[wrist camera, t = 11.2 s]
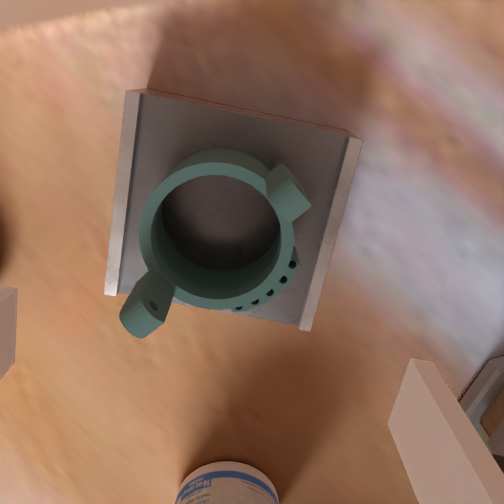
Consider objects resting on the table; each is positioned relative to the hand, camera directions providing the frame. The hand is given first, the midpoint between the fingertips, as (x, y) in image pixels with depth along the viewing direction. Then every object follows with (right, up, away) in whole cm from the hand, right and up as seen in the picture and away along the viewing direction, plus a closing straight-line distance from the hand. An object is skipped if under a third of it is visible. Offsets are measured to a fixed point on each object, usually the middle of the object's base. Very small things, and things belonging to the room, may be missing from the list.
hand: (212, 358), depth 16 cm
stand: (0, +7, +19) cm, 21 cm away
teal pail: (0, +6, +15) cm, 16 cm away
